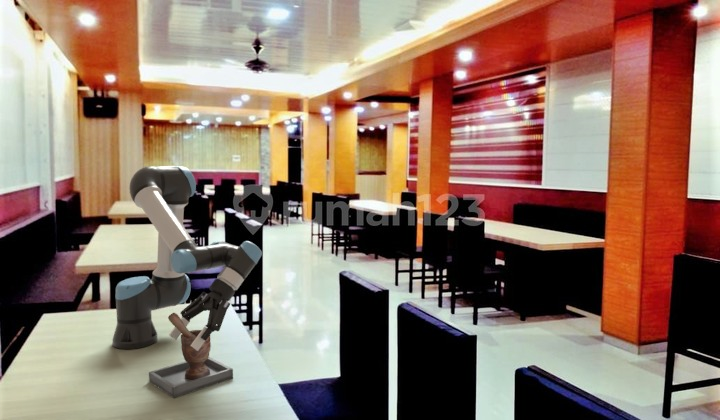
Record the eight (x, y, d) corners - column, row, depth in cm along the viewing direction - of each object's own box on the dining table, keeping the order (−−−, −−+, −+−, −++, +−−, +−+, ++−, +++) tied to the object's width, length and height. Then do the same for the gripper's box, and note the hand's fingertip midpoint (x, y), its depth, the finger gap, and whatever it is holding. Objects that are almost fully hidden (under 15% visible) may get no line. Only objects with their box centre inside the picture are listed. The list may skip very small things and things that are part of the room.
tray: (149, 381, 160) (148, 372, 159) (206, 364, 173) (206, 355, 173) (173, 398, 149) (173, 387, 148) (233, 378, 162) (232, 368, 162)
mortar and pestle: (175, 386, 154) (173, 318, 152) (168, 376, 161) (166, 311, 160) (215, 377, 160) (213, 312, 159) (206, 367, 168) (204, 306, 166)
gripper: (255, 298, 161) (212, 359, 151) (213, 285, 178) (172, 339, 169) (240, 284, 156) (195, 346, 147) (198, 272, 174) (155, 326, 165)
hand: (182, 342), depth 158 cm, fingers open, 13 cm apart
